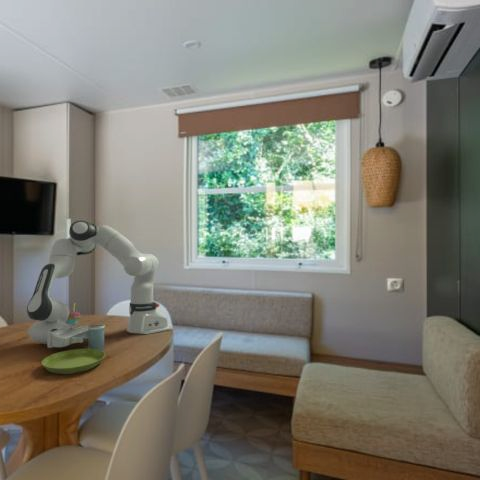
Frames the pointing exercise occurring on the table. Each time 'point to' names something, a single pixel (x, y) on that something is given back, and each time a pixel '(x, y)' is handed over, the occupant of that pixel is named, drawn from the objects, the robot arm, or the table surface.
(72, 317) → the cupcake
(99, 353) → the saucer
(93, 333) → the beaker
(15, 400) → the table surface
